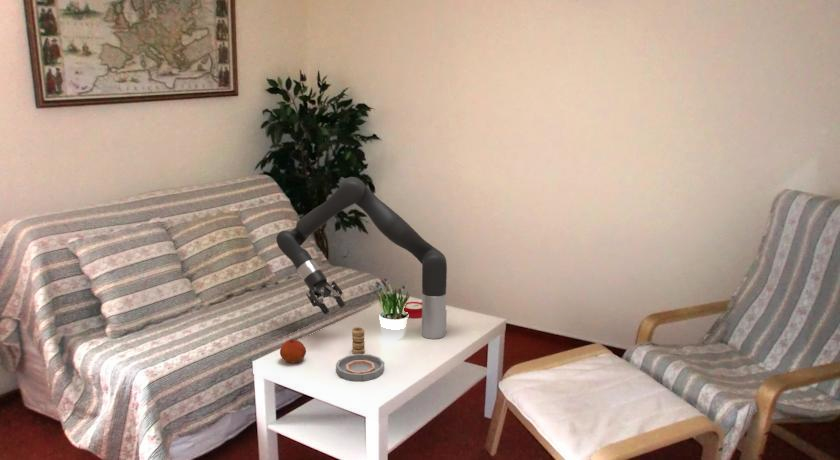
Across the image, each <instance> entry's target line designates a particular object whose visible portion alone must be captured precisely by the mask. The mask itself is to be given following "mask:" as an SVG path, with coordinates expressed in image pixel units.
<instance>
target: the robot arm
mask: <svg viewBox="0 0 840 460" xmlns="http://www.w3.org/2000/svg"><path fill="white" fill-rule="evenodd" d="M354 204H355V205H356V206H357V207H359V208H360V209H361V210H362V211H364V212H365V214H366V215H368V217H369V218H370V220H371V222H372V223H373V224H374V226H375V227H376V228H377V229H378V231H379V232H380V233H382V234H383V236H385V237H386V238H387V239H388V240H389V241H390V242H391V243H393V244H395V245H397V246H399V247H400V248H402V249H403V250H405V251H407V252H409V253H411V254H412V256H414V258H416V259H417V261H419V263H421V265H422V272H421V273H422V274H421V279H422V280H421V302H422V317H421V336H422V337H424V338H426V339H432V340H435V339H436V340H437V339H441V338H443V337H445V336H446V334H447V318H448V317H447V316H448V315H447V311H448V310H447V309H446V308H447V279H448V278H447V276H448V275H447V273H448V271H447V270H448V264H447V258H446V256H445V254H444V253H442V252H441V251H440V250H439V249H437V248H436V247H435V246H433V245H431V243H429V242H427V241H426V240H425V239H424V238H423V237H422V236H421V235H419V233H418V232H417V231H416V230H415V229H414V228H413V227H412V226H411V225H410V224H409V223H408V222H407V221H406V220H404V218H403V217H401V216H400V214H398V213H397V212H395V211H394V210H393V209H392V208H390V207H389V206H388V205H387V204H386V203H384V202H383V201H382V200H381V199H379V198H378V197H377V196H376V195H375V194H374V193H373V191H371V189H370V188H369V187H368V186H367V185H366V184H365V183H364V181H363V180H361V179H360V178H359V177H355V176H349V177H346V178H345V179H344V180H343V181H342V182H341V183H340V185H339V187H338V189H336V190H335V192H334V193H333V194H332V195H331V196H330V197H329V198H328V199H326V201H324V202H323V203H321V204H320V205H318V206H316V207H315V208H313V209H312V210H311V211H309V212H308V213H306V214H305V215H304V216H303V217H302V218H300V219H298V220H297V222H296V224H295V227H294V228H293V229H292V230H281V231H280V232H279V233H277V235H276V237H275V238H276V241H275V242H276V245H277V246H278V248H279V250H281V252H282V253H283V254H284V255H285V257H287V258H288V259H289V260H290V261H291V262H292V264H293V266H294V267H295V269H296V270H297V272H298V274H299V275H300V277H301V279H302V280H303V282H304V283H305V285H306V286H307V288H308V289H309V290H308V291H307V292H306V296H307V298H308V300H309V301H310V303H311V305H312V307H314V308H315V307H318V308H319V310H321V312H322V313H323V314H324V315H328V314H329V313H330V310H329V308H328V307H327V305H326V304H325V303H324V299H325V298H331V299H334V300H335V302H336V303H337V305H338V306H339V307H340V309H342V308H344V307H345V305H346V304H345V302H344V300H343V299H342V297H341V296H342V295H343V294H344V293H343V290H341V288H340V287H339V285H338V283H337V282H336V281H332V282H331V283H328V282H327V277H326V276H325V274H324V273H323V270H321V268H320V266H319V265H318V263H317V262H315V260H314V259H313V257H312V256H311V254H310V253H309V251H308V250H306V249H305V248H303V247H302V245H303V244H304V243H305V242H306V241H307V240H308V238H309V237H310V236H311V235H312V234H314V233H316V231H317V230H318V229H320V228H321V227H322V226H324V224H326V223H327V222H328V221H329V220H331V219H332V218H333V217H334V216H336V215H337V214H339V213H340V212H342V211H344V210H345V209H347V208H349V207H350V206H353V205H354Z"/></svg>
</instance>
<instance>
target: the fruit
mask: <svg viewBox="0 0 840 460" xmlns="http://www.w3.org/2000/svg"><path fill="white" fill-rule="evenodd" d="M306 353H307V350H306V347H305V345H304V343H303V342H301V341H299V340H297V339H293V338H290V339H288V340H287V341H285V342H284V343H283V344H282V345H281V346H280V350H279V354H280V356H281V357H280V358H281V359H282V360H283V361H284V362H286V363H290V364H292V363H297V362H300V361H301V360H303V359H304V358H305V356H306Z"/></svg>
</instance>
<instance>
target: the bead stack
mask: <svg viewBox="0 0 840 460" xmlns="http://www.w3.org/2000/svg"><path fill="white" fill-rule="evenodd" d="M351 330H352V331H351V333H352V335H351V336H352V337H351V340H352V341H351V342H352V347H351V348H352V355H355V354H366V353H365V351H366V350H365V346H366V345H365V342H366V341H365V327H362V326H356V327H353V328H352V329H351Z"/></svg>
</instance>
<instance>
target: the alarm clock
mask: <svg viewBox="0 0 840 460" xmlns="http://www.w3.org/2000/svg"><path fill="white" fill-rule="evenodd" d="M405 303H406V305H405V308H404V311H405V312H408V314H409V319H420V318H421V319H422V301H421V302H420V301H419V302H418V301H410V302H405Z"/></svg>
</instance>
